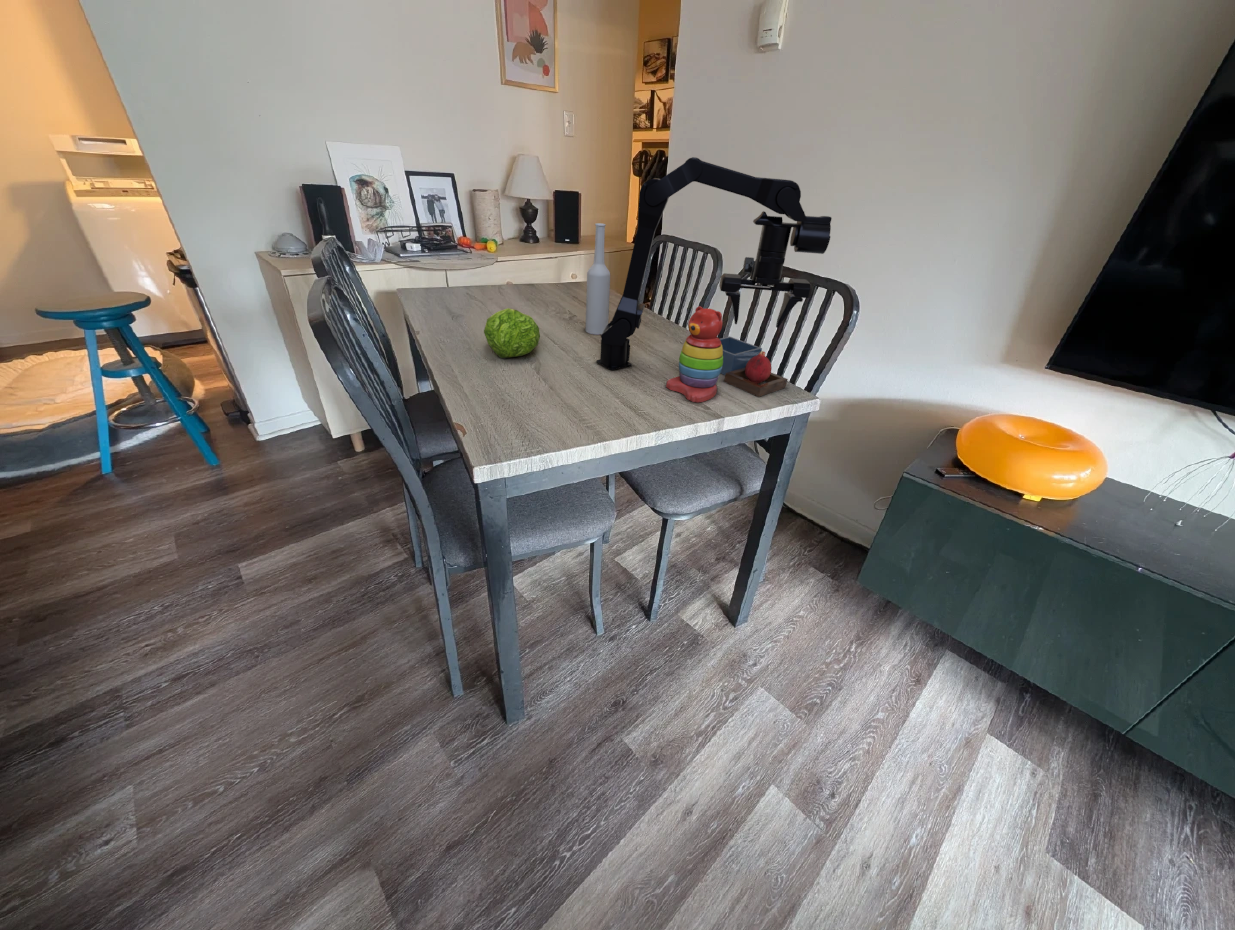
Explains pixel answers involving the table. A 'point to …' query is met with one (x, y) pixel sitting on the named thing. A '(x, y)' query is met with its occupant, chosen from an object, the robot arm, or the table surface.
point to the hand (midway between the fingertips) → (756, 325)
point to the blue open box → (736, 354)
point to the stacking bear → (700, 357)
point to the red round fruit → (758, 368)
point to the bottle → (598, 287)
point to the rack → (771, 386)
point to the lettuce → (511, 333)
